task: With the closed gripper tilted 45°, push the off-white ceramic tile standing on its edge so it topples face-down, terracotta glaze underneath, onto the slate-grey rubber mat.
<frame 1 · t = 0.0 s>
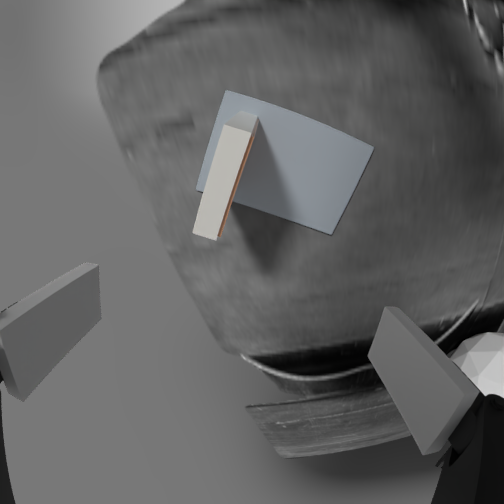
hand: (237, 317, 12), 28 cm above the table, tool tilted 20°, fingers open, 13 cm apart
tile: (237, 150, 35), resting on mat
geometric polyhedron: (466, 345, 55), on the table
mat: (284, 165, 36), on the table
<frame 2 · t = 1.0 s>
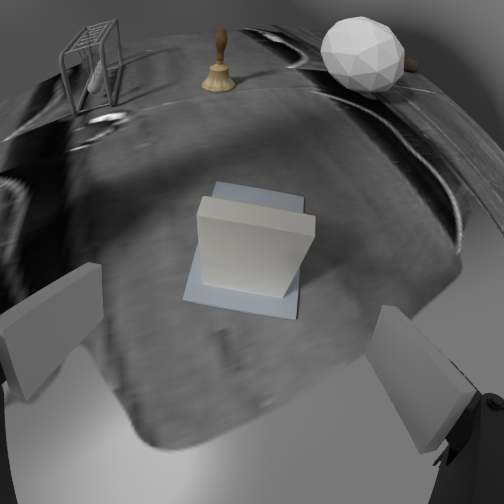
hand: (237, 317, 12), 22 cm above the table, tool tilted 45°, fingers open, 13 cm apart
hand bell: (218, 85, 63), on the table
brown hollow tube: (402, 69, 96), on the table
tile: (244, 282, 36), resting on mat
newton's cradle: (101, 88, 61), on the table
geometric polyhedron: (352, 87, 72), on the table
mat: (250, 242, 40), on the table
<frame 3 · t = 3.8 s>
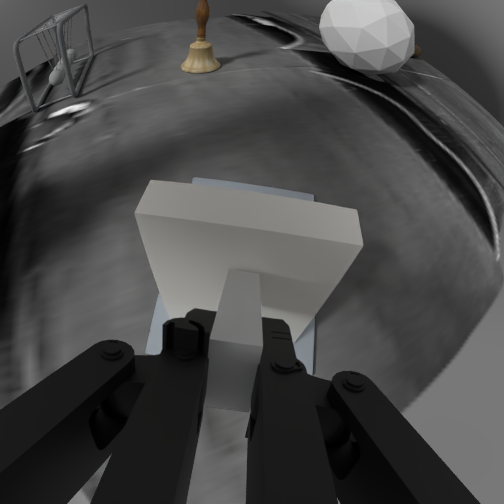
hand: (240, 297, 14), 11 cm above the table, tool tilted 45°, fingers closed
hand bell: (200, 67, 50), on the table
brown hollow tube: (404, 54, 85), on the table
tile: (234, 324, 24), resting on mat
newton's cradle: (67, 80, 48), on the table
geometric polyhedron: (356, 68, 60), on the table
mat: (242, 263, 28), on the table
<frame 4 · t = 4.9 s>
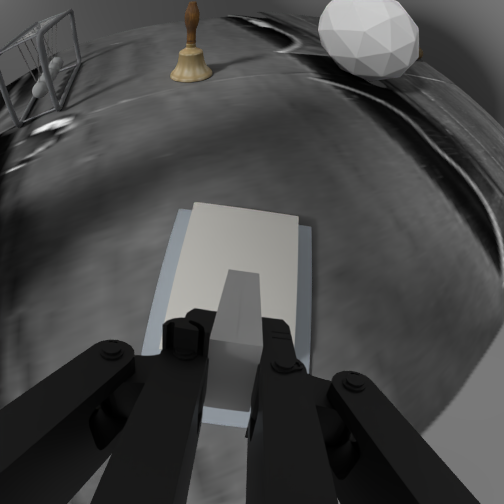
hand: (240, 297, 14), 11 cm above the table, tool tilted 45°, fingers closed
hand bell: (191, 75, 48), on the table
brown hollow tube: (405, 56, 82), on the table
tile: (225, 362, 21), point 2 cm above the table, tilted 90°, touching mat
newton's cradle: (53, 91, 45), on the table
geometric polyhedron: (357, 73, 58), on the table
mat: (232, 310, 25), on the table
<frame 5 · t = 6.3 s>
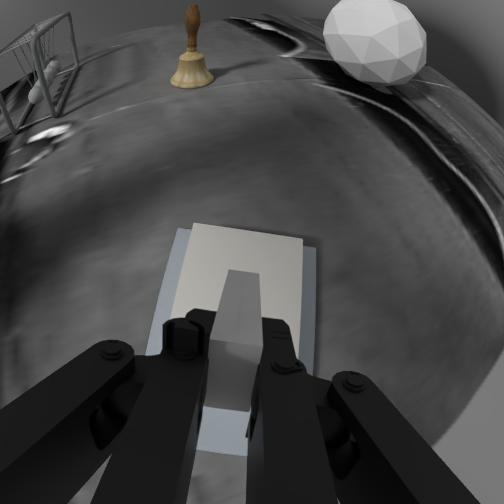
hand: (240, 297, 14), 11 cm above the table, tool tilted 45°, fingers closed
hand bell: (191, 80, 47), on the table
tile: (225, 393, 20), point 2 cm above the table, tilted 90°, touching mat
newton's cradle: (50, 96, 44), on the table
geometric polyhedron: (362, 79, 56), on the table
mat: (232, 338, 24), on the table
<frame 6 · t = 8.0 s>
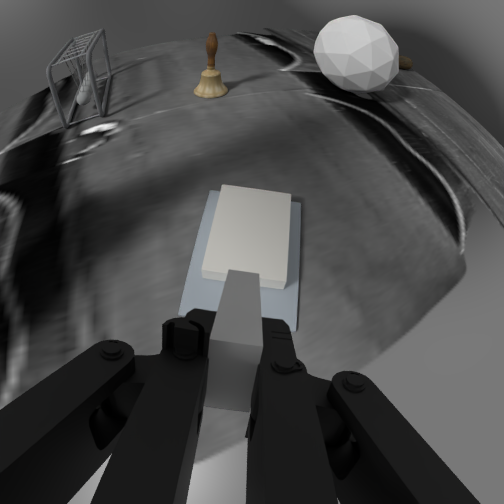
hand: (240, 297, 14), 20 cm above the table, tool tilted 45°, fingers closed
hand bell: (210, 91, 62), on the table
brown hollow tube: (396, 67, 96), on the table
tile: (243, 280, 35), point 2 cm above the table, tilted 90°, touching mat
newton's cradle: (90, 99, 60), on the table
geometric polyhedron: (347, 87, 71), on the table
mat: (247, 252, 39), on the table
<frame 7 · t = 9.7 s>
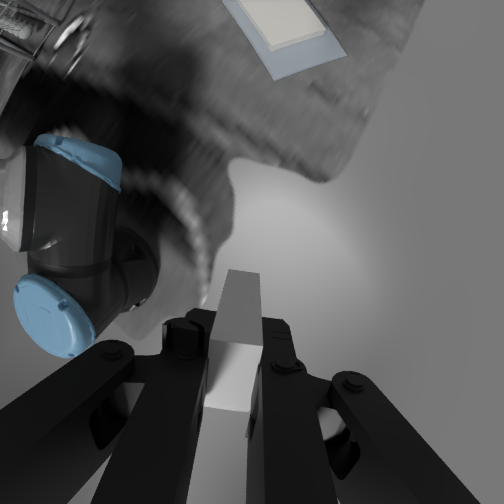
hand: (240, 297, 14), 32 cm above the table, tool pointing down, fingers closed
tile: (298, 40, 37), point 2 cm above the table, tilted 90°, touching mat
newton's cradle: (24, 31, 35), on the table
mat: (283, 24, 37), on the table
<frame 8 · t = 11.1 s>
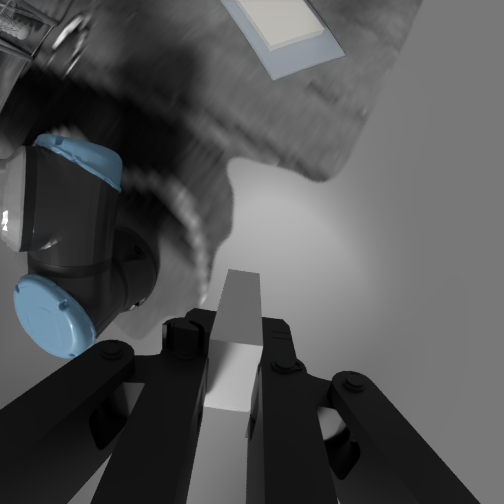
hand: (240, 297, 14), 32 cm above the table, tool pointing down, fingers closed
tile: (297, 39, 37), point 2 cm above the table, tilted 90°, touching mat
newton's cradle: (22, 32, 35), on the table
mat: (282, 23, 37), on the table
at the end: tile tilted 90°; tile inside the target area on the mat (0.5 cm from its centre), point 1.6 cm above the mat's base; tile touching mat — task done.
